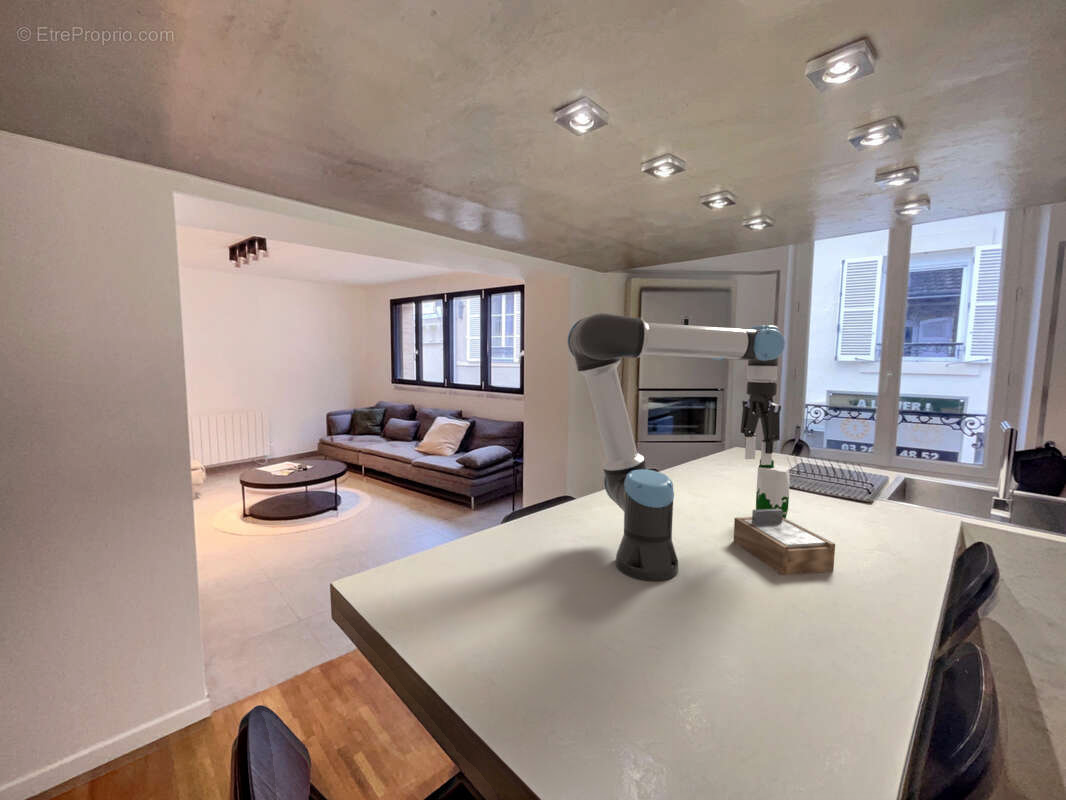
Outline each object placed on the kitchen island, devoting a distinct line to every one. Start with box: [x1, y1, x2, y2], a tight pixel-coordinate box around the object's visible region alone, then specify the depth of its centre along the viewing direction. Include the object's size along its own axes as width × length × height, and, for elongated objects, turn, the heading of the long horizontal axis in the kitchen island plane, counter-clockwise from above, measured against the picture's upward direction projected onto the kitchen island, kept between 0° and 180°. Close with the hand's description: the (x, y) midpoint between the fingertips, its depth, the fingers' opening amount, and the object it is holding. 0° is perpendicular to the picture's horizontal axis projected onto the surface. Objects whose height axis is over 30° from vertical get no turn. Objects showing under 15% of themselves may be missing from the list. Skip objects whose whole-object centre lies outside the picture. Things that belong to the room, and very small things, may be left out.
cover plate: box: [744, 509, 826, 548], centre depth 118 cm, size 11×17×4 cm, turn 8°
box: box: [733, 516, 836, 576], centre depth 118 cm, size 14×20×7 cm
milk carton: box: [755, 458, 791, 519], centre depth 142 cm, size 9×9×20 cm
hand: (757, 461), depth 127 cm, fingers open, 6 cm apart
